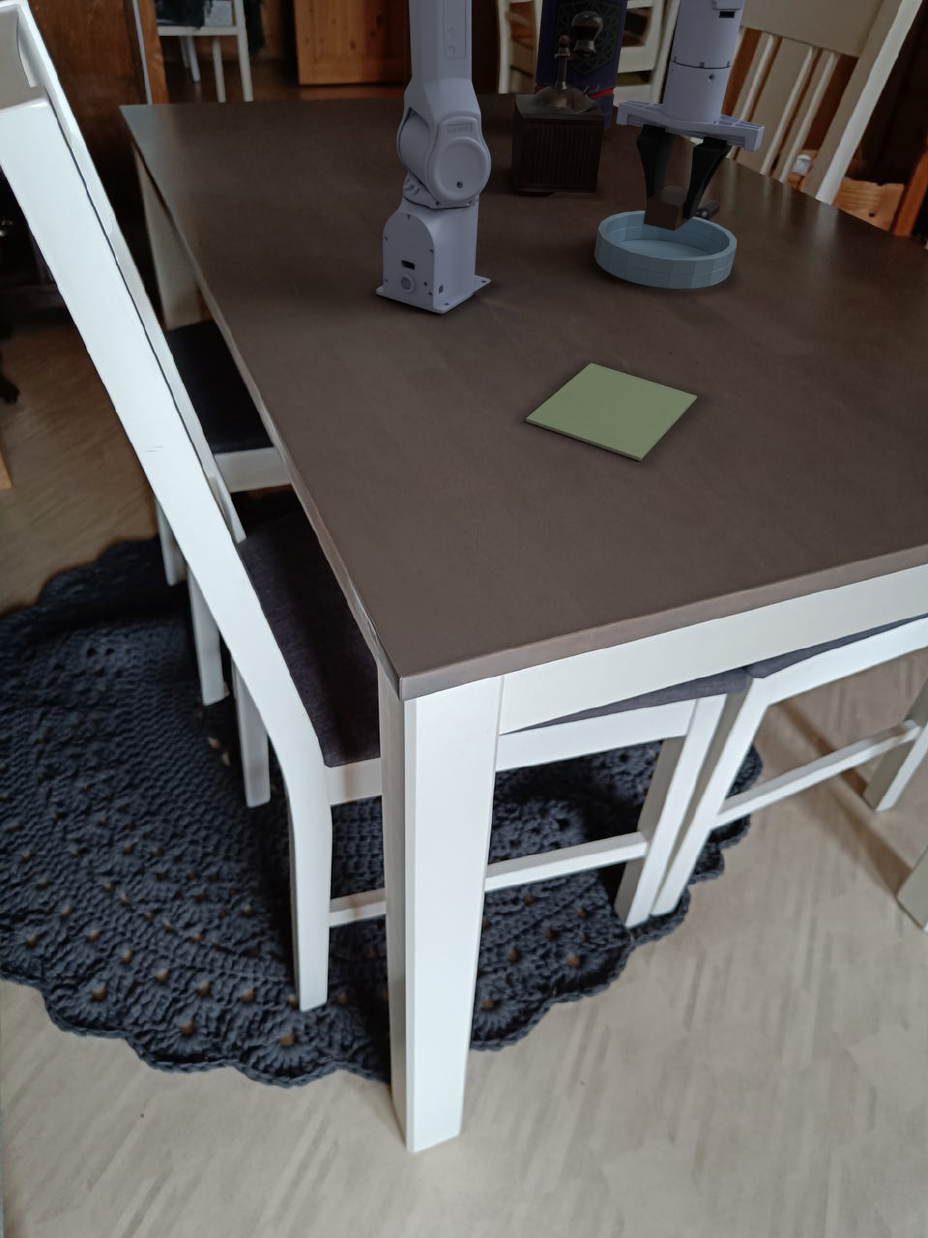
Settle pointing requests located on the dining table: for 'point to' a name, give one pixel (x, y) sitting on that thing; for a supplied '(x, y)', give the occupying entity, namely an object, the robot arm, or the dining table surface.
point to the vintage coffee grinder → (559, 126)
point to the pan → (665, 252)
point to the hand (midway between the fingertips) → (671, 211)
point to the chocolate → (667, 208)
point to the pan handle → (708, 210)
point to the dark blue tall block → (557, 21)
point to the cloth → (613, 410)
